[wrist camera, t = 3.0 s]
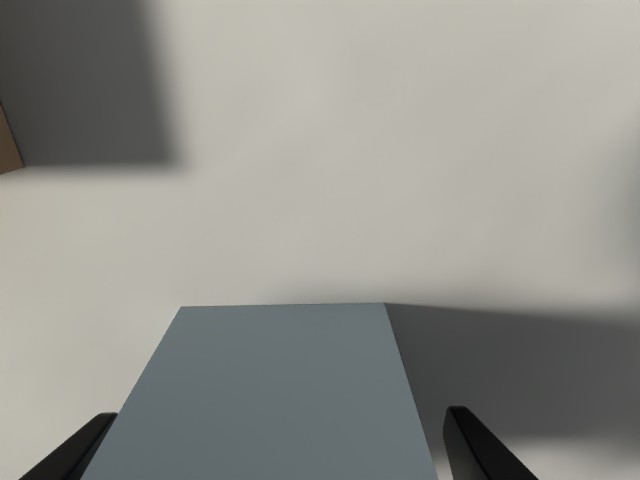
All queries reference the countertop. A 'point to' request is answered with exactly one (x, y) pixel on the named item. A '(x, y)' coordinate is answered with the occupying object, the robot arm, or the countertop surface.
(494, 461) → the robot arm
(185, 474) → the grey block
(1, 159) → the walnut base
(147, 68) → the countertop surface
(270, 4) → the countertop surface
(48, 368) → the countertop surface
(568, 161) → the countertop surface
